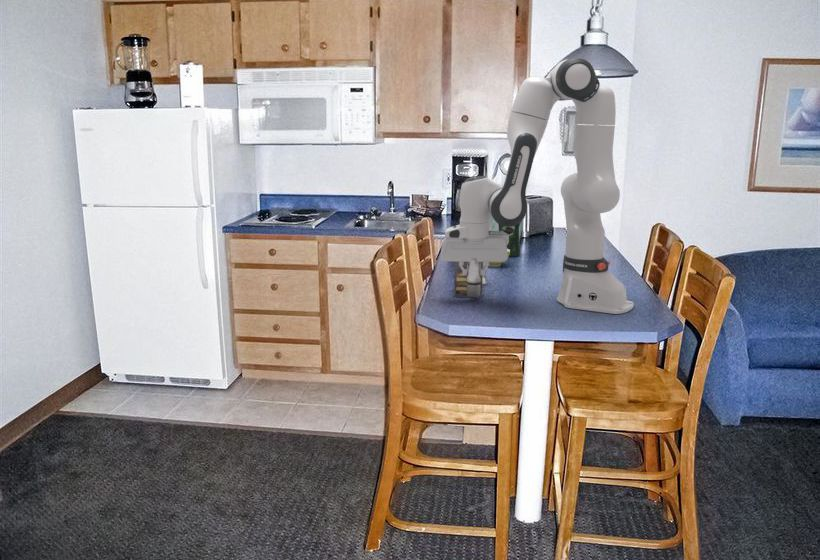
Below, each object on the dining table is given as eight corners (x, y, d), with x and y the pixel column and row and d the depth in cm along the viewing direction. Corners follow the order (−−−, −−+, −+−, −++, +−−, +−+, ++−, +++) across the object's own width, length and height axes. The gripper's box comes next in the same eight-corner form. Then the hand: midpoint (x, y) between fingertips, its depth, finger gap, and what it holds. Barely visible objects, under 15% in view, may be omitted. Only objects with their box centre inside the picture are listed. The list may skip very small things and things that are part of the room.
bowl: (475, 266, 246) (475, 250, 245) (486, 261, 256) (486, 246, 255) (503, 270, 241) (504, 253, 240) (513, 264, 251) (514, 248, 250)
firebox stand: (482, 297, 203) (483, 263, 200) (453, 296, 204) (454, 262, 201) (481, 290, 212) (483, 257, 209) (454, 289, 212) (455, 256, 210)
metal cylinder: (482, 294, 200) (483, 256, 197) (475, 297, 197) (476, 258, 194) (471, 292, 202) (471, 255, 200) (464, 295, 199) (464, 257, 196)
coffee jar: (520, 254, 271) (522, 209, 267) (518, 257, 264) (521, 212, 259) (497, 252, 273) (499, 208, 269) (494, 256, 266) (496, 211, 262)
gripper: (508, 229, 197) (507, 273, 200) (441, 229, 199) (441, 273, 202) (509, 232, 191) (508, 278, 194) (440, 232, 193) (440, 277, 196)
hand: (473, 275), depth 198 cm, fingers closed on metal cylinder, 4 cm apart
